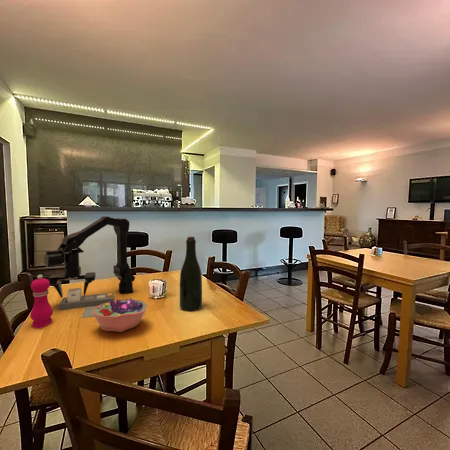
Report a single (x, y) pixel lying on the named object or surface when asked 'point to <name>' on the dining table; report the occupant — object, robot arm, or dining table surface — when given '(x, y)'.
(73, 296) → the block
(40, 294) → the pepper mill
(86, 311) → the mat
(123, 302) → the cell model
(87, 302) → the power strip
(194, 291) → the dark green wine bottle
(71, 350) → the dining table surface
